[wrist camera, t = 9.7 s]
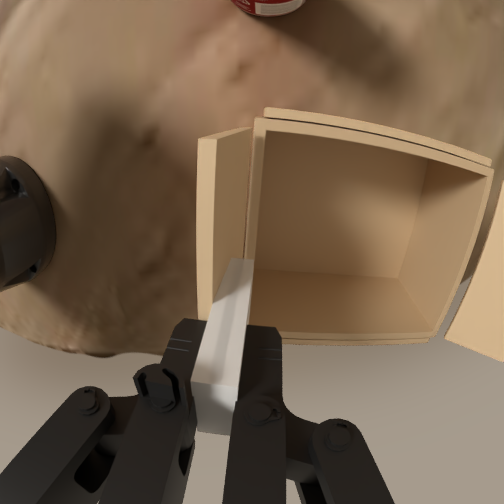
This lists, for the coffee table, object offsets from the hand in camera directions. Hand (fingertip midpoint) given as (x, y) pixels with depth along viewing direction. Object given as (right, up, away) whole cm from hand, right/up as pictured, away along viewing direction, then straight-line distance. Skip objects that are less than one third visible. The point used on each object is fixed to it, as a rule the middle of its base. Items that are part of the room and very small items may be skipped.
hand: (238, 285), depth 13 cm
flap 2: (+19, -1, +2) cm, 19 cm away
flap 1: (0, 0, 0) cm, 0 cm away
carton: (+8, +5, +12) cm, 16 cm away
